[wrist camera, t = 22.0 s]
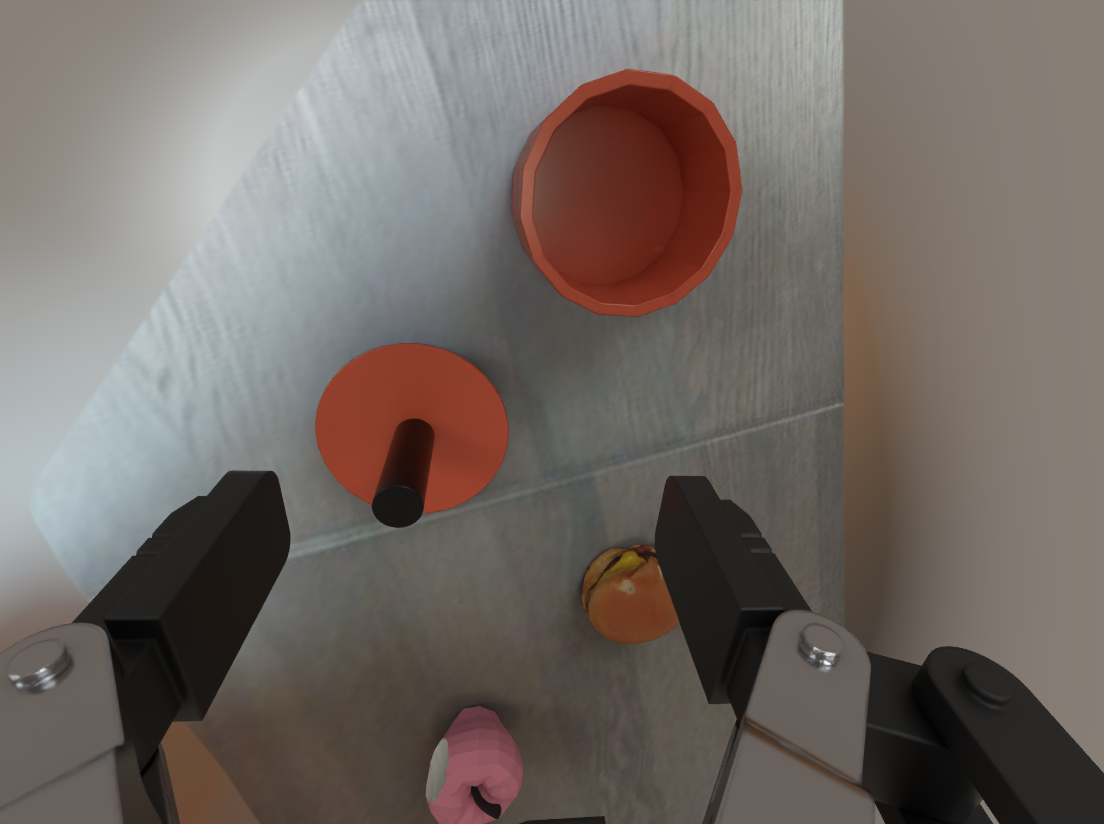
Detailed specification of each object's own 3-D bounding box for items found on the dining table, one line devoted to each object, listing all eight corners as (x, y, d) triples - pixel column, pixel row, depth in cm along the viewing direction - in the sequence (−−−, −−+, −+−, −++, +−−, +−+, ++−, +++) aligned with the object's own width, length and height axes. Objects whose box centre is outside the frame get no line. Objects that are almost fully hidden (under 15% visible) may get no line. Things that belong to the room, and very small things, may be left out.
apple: (462, 676, 51) (459, 781, 42) (534, 700, 54) (546, 804, 45) (416, 735, 54) (404, 847, 44) (487, 755, 56) (489, 864, 47)
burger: (625, 631, 52) (639, 671, 47) (559, 589, 48) (568, 628, 44) (697, 569, 50) (717, 604, 45) (633, 520, 46) (649, 553, 42)
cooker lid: (294, 470, 38) (236, 563, 28) (357, 307, 34) (313, 352, 24) (463, 526, 42) (460, 623, 32) (538, 386, 38) (559, 451, 28)
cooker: (481, 242, 35) (482, 256, 28) (565, 52, 31) (591, 15, 24) (631, 320, 39) (665, 349, 32) (723, 158, 35) (783, 152, 28)
